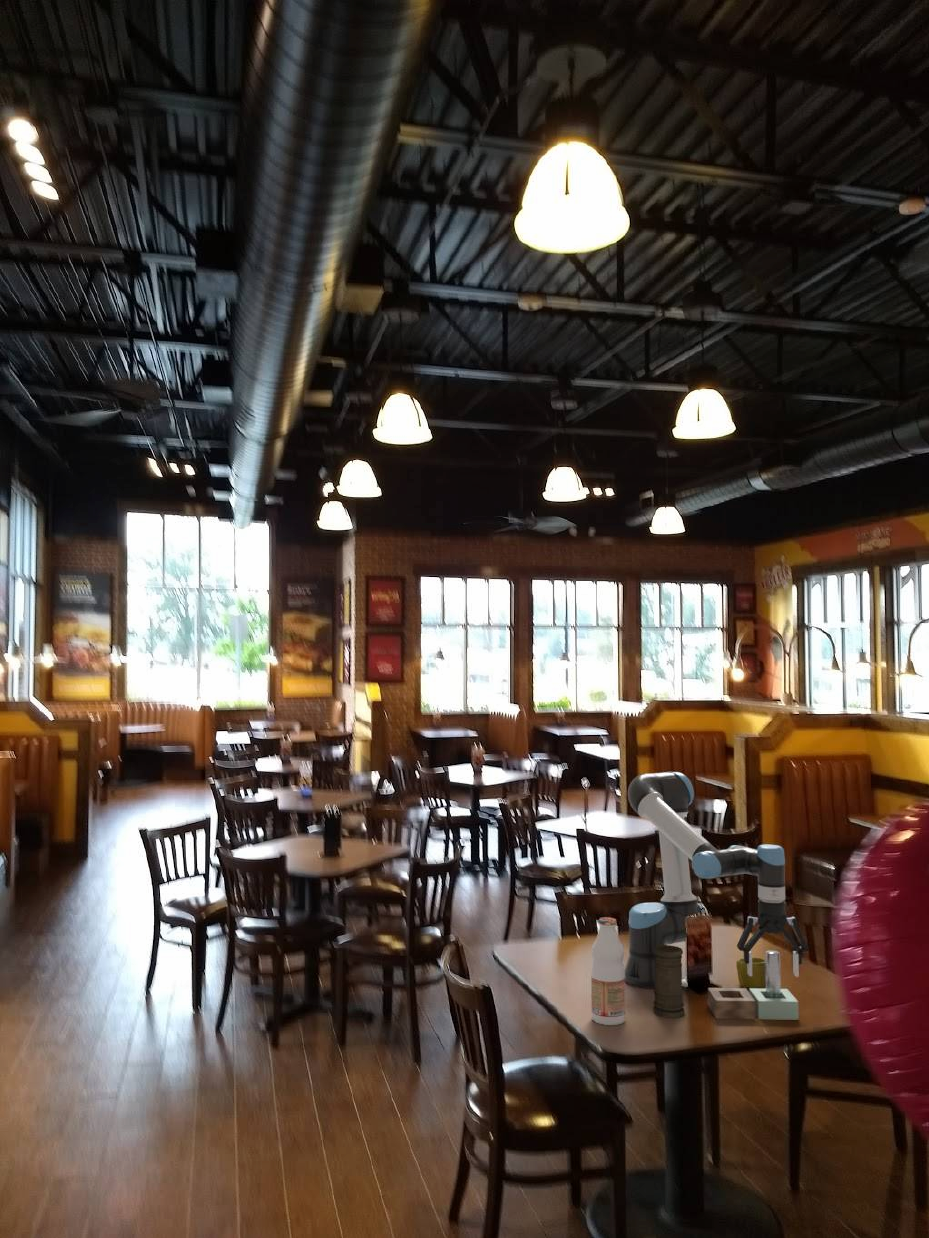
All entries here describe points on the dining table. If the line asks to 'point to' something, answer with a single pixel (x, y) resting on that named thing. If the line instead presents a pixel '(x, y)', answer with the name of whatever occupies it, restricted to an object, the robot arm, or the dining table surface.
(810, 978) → the dining table surface
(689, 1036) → the dining table surface
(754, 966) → the mug
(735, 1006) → the block
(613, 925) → the fruit juice
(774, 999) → the dock block
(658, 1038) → the dining table surface
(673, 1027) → the dining table surface
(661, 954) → the container
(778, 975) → the pin
